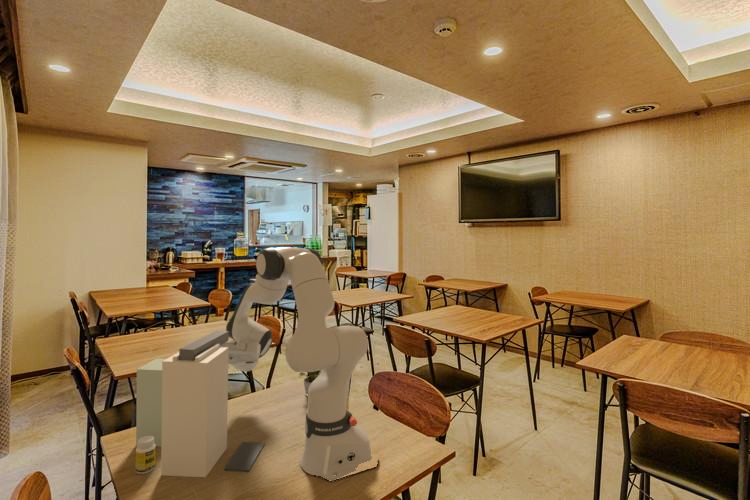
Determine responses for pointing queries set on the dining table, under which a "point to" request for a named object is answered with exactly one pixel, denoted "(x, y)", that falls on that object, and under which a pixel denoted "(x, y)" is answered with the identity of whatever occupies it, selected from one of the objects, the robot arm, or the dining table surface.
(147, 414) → the pale green block
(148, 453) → the supplement bottle
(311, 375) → the house plant
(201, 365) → the outlet wall
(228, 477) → the dining table surface
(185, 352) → the bar
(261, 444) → the plate
